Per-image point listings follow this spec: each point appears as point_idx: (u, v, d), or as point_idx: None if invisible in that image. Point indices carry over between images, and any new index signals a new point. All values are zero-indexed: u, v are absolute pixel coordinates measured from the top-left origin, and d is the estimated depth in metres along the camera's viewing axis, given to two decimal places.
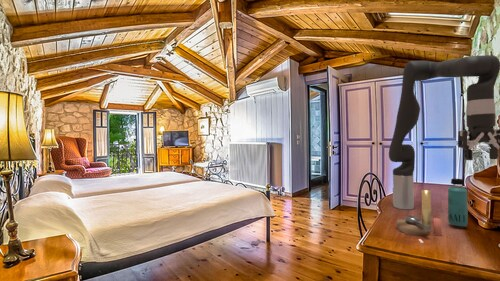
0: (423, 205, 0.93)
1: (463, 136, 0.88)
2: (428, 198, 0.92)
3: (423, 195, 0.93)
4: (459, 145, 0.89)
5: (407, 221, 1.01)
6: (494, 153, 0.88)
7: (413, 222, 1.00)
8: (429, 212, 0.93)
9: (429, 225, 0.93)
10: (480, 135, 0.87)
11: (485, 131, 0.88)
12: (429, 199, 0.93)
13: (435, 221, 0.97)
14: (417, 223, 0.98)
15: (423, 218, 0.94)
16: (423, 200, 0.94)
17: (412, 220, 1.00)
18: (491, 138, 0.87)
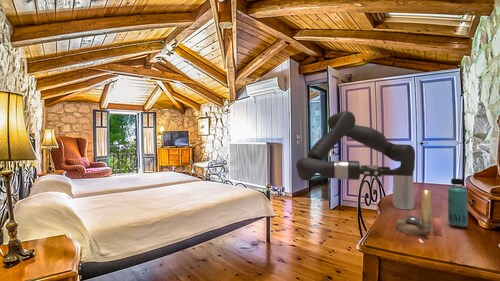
0: (423, 205, 0.93)
1: None
2: (428, 198, 0.92)
3: (423, 195, 0.93)
4: None
5: (407, 221, 1.01)
6: None
7: (413, 222, 1.00)
8: (429, 212, 0.93)
9: (429, 225, 0.93)
10: None
11: None
12: (429, 199, 0.93)
13: (435, 221, 0.97)
14: (417, 223, 0.98)
15: (423, 218, 0.94)
16: (423, 200, 0.94)
17: (412, 220, 1.00)
18: None
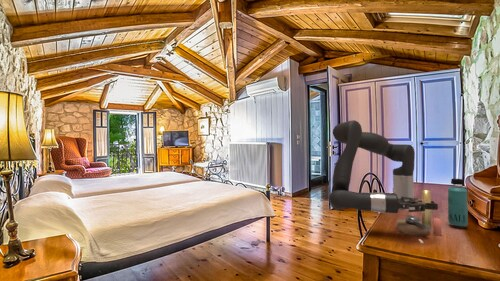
0: None
1: None
2: (428, 198, 0.92)
3: (423, 195, 0.93)
4: None
5: (407, 221, 1.01)
6: None
7: (413, 222, 1.00)
8: (429, 212, 0.93)
9: (429, 225, 0.93)
10: None
11: None
12: (429, 199, 0.93)
13: (435, 221, 0.97)
14: (417, 223, 0.98)
15: (423, 218, 0.94)
16: (423, 200, 0.94)
17: (412, 220, 1.00)
18: None
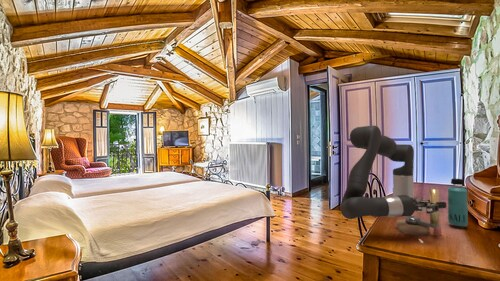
0: None
1: None
2: (438, 197, 0.93)
3: (433, 194, 0.94)
4: None
5: (410, 222, 1.00)
6: None
7: (416, 222, 0.99)
8: (438, 211, 0.94)
9: (438, 224, 0.94)
10: None
11: None
12: None
13: None
14: (422, 223, 0.98)
15: (433, 217, 0.94)
16: (432, 199, 0.94)
17: (415, 220, 0.99)
18: None
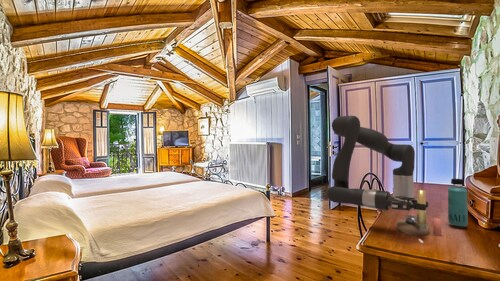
0: None
1: None
2: (422, 198, 0.93)
3: (417, 195, 0.94)
4: None
5: (406, 221, 1.02)
6: None
7: (411, 222, 1.00)
8: (423, 212, 0.93)
9: (423, 225, 0.93)
10: None
11: None
12: (423, 199, 0.93)
13: (435, 221, 0.97)
14: (414, 223, 0.98)
15: (418, 218, 0.94)
16: (417, 200, 0.94)
17: (410, 220, 1.00)
18: None
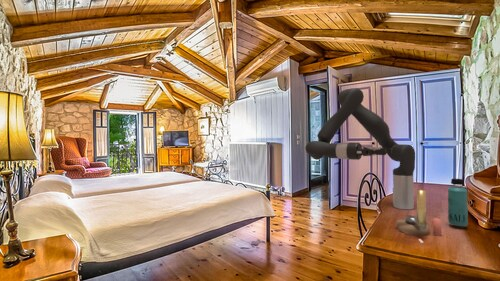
0: (417, 205, 0.94)
1: None
2: (422, 198, 0.93)
3: (417, 195, 0.94)
4: None
5: (406, 221, 1.02)
6: None
7: (411, 222, 1.00)
8: (423, 212, 0.93)
9: (423, 225, 0.93)
10: None
11: None
12: (423, 199, 0.93)
13: (435, 221, 0.97)
14: (414, 223, 0.98)
15: (418, 218, 0.94)
16: (417, 200, 0.94)
17: (410, 220, 1.00)
18: (368, 155, 1.06)
